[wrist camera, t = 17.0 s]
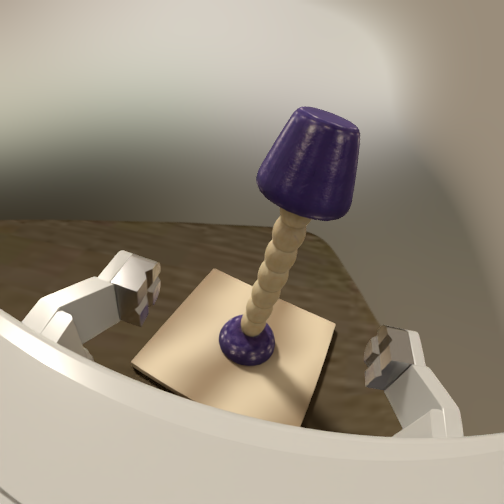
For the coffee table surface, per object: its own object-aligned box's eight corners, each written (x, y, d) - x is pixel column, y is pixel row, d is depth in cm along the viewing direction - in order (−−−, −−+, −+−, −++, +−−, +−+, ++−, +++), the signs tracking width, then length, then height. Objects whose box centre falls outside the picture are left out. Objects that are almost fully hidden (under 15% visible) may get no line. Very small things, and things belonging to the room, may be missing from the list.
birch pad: (131, 366, 19) (130, 361, 18) (213, 273, 28) (213, 268, 28) (289, 448, 16) (291, 446, 16) (332, 328, 26) (335, 323, 25)
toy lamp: (288, 339, 23) (379, 128, 13) (264, 384, 19) (375, 142, 9) (234, 312, 24) (291, 96, 14) (204, 352, 21) (253, 100, 11)
